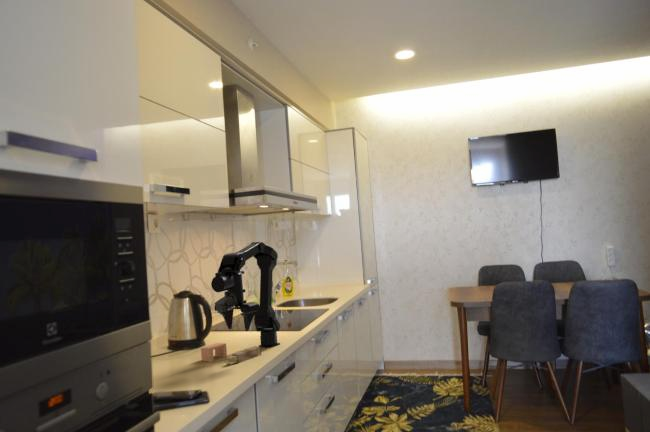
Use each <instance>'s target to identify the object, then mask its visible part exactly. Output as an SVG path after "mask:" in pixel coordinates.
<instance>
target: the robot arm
mask: <svg viewBox="0 0 650 432" xmlns="http://www.w3.org/2000/svg"><path fill="white" fill-rule="evenodd" d="M278 256H279V255H278V252H277V251H276V250H275V249H274V248H273V247H271V246H269V245H267V244H265V243H264V242H262V241H253V242H251V243H250V244H248V245H247V246H245V247H243V248H242V249H240V250H238V251H236V252H231V253H229V252H228V253H226V254H224V255H223V256H222V258H221V261H220V264H219V267H218V270H217V272H216V273H215V276H214V277H213V278H212V279H211V283H210V285H211V286H210V287H211V288H212V290H213V291H214V292H216V293H221V292H224V293H223V294H224V296H223V297H221V298H220V299H218V300H217V301H216V302H214V311H215V312H216V313H217V314H220V316H222V318H223V320H224V322H225V324H226V326H227V329H228V330H232V327H233V320H234V310H240V312H241V313H240V315H241V316H242V319H243V325H244V329H245V332H248V331H249V330H250V327H251V324H252V322H254V327H255V330H256V332H259V333H260V337H259V338H260V339H259V340H260V344H259V345H258V347H261V348H269V349H270V348H273V347H277V346H279V345H281V343H280V342H278V335H277V332H279V331H280V330H281V323H280V322H279V320H278V319H277V318H276V315H277V314H276V311H275V309H274V308H273V305H272V302H273V298H272V297H273V271H274V269H275V267H276V266H277V263H278V258H279V257H278ZM252 257H253V258H254V259H255V260H256V266H258V269H259V270H260V277H259V282H260V283H259V284H260V285H259V302H255V301H254V302H253V301H250V302H247V300H246V299H244V293H246V289H244V284H243V275H244V274H245V271H244V270H243V269H242V268H243V267H244V266H245V265H246V261H248V260H249V259H252Z"/></svg>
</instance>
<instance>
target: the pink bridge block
mask: <svg viewBox="0 0 650 432" xmlns="http://www.w3.org/2000/svg"><path fill="white" fill-rule="evenodd" d="M227 351H228V350H227V343H224V342H214V343H212V344H208V345H204V346H203V347H200V355H201V361H203V362H213V361H215V359H214V357H218V358H219V357H220V358H225V357H226V358H227V357H228V352H227ZM214 355H215V356H214Z"/></svg>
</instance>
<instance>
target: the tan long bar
mask: <svg viewBox="0 0 650 432" xmlns="http://www.w3.org/2000/svg"><path fill="white" fill-rule="evenodd" d="M259 356H262V347H259V346H257V345H256V346H252V347H249V348H245V349H243V350H240V351H237V352H234V353H232V354H231V355H230V356H226V364H227V365H234V364H240V363H244V362H246V361H249V360H251V359H254V358H256V357H259Z"/></svg>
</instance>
